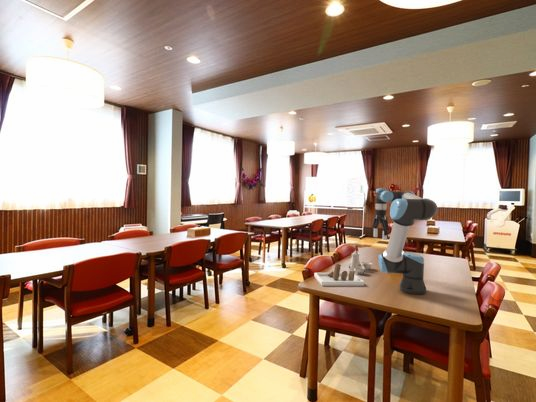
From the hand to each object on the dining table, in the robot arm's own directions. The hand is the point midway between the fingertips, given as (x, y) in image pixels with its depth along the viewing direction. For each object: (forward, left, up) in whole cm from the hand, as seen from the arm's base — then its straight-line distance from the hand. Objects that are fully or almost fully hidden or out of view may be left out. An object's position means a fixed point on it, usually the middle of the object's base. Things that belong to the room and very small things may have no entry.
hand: (379, 238), depth 199 cm
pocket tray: (-9, +34, -29) cm, 45 cm away
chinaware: (+17, +8, -29) cm, 35 cm away
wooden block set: (-8, +32, -28) cm, 43 cm away
